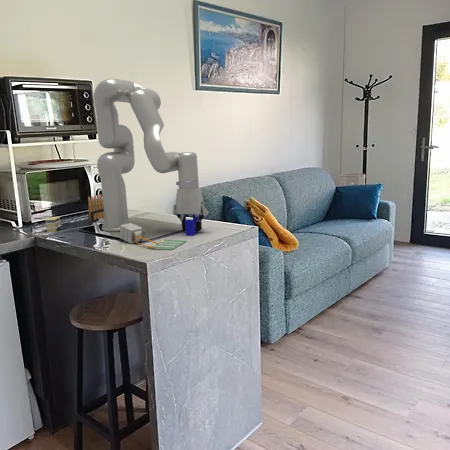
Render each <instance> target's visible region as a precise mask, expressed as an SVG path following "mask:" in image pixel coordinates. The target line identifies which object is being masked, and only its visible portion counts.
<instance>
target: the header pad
mask: <svg viewBox="0 0 450 450" xmlns="http://www.w3.org/2000/svg"><path fill="white" fill-rule="evenodd" d="M187 242H188V240H183V239H182V240H178V239H162V240H160V241H158V242H157V241H156V243H159V244H161V245H159V244H156V243H153V244H152V245H149V246H150V247H155V248H160V249H158V250H159V251H160V250H161V251H163V250H164V251H172V250H174V249H176V248H178V247H180V246H182V245H183V244H185V243H187ZM162 245H163V246H162ZM150 247H146V249H147V250H156V249H155V248H150Z"/></svg>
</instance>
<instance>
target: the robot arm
mask: <svg viewBox="0 0 450 450" xmlns="http://www.w3.org/2000/svg"><path fill="white" fill-rule="evenodd" d="M118 102H119V103H128V104H130V107H131V109H132V111H133V113H134V115H135V117H136V119H137V122H138V124H139V126H140V128H141V130H142V132H143V148H144V152H145V154H146V157H147V159H148V161H149V163H150V165H151V167H152V168H153V169H154V171H156V172H157V173H159V174H167V173H171V172H173V173H174V172H176V171H177V173H178V175H177V176H178V181H176V182H175V185H176V186H178V188H177V189H176V196H175V197H176V198H175V208H174V210H172V211H173V212H172V213H173V214H174V215H175V216H176V217H177V218H178V219H179V220H180V222H181V229H182V232H186V231H185V220H187V216H188V215H189V216H193V215H195V217H196V220H197V222H196V232H197V233H199V232H200V231H201V230H202V229H201V228H203V227H202V226H203V225H201V224H202V220H204V218H205V217H206V216H208V215H209V212H210V211H208V209H207V208H206V207H205V205H204V197H203V192H202V189H201V187H199V186H200V185H199V184H200V183H199V169H198V155H197V153H196V152H194V151H184V152H177V151H169V152H165V150H164V147H163V144H162V143H161V132H162V130H163V128H164V127H165V126H164V125H165V124H164V121H163V119H162V117H161V115H160V113H159V109H160V108H161V104H162V101H161V97H160V95H159V94H158V93H157V91H155V90H153V89H151V88H147V87H145V86H143V85H140V84H139V83H136V82H133V81H131V80H124V79H120V78H107V79H103V80H102V81H101V80H100V81H99V83H98V84H97V85H96V87H95V88H94V92H93V104H94V110H95V117H96V119H95V120H96V129H97V137H98V138H97V139H98V143H99V145H100V146H101V147H102V148H103V149H107V150H108V149H111V150H112V149H113V151H109V152H108V151H107V152H104V153H103V154H101V155H100V156H99V157H98V159H97V162H96V166H97V172H98V174H99V175H98V176H99V178H100V183H101V185H100V187H101V193H102V194H101V196H102V195H103V205H104V216H105V218H100V219H99V220H98V221H97V223H98V224H102V226H101V230H102V231H104V232H120V225H124V224H129V223H130V222H129V213H128V197H127V190H126V188H127V187H126V182H125V180H124V178H123V174H124V175H125V174H128V173H130V172H131V171H132V170H133V169H134V167H135V149H134V148H135V147H134V137H133V134H132V131H131V129H130V128H129V127H128V126H127V125H124V124H120V122H119V121H120V120H119V113H118V112H119V111H118V109H117V106H116V105H115V103H118Z"/></svg>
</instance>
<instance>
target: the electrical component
mask: <svg viewBox="0 0 450 450" xmlns="http://www.w3.org/2000/svg"><path fill="white" fill-rule="evenodd" d="M145 234H146V230H143V227H142V226H139V225H137V224H135V223H133V222H129V224H124V225H120V231H119V239H120V240H122V241H124V242H127V243H129V244H135V243H136V244H138V245H140V246H142V247H146V248H147V247H150V246H151V245H146V244H142V243H140V242H142V241H144V240H145V241H147V242H149V243H150V242H151V243H153V244H155V243H156V244H159V243H157V241H156V242H155V241H153V240H152V239H151V240H150V239H148V238H145V236H144V235H145ZM159 245H161V244H159ZM162 246H163V245H162ZM150 248H155V247H150ZM159 249H160V248H155V249H154V250H159Z"/></svg>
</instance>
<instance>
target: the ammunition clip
mask: <svg viewBox="0 0 450 450" xmlns="http://www.w3.org/2000/svg"><path fill="white" fill-rule="evenodd" d="M87 208H88V211H87V217H88V224H93V223H98V220H99V219H100V218H105V216H104V205H103V195H102V194H101V193H100V194H97V195H95V194H94V196H93V195H91V197H90V196H88V197H87Z"/></svg>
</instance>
